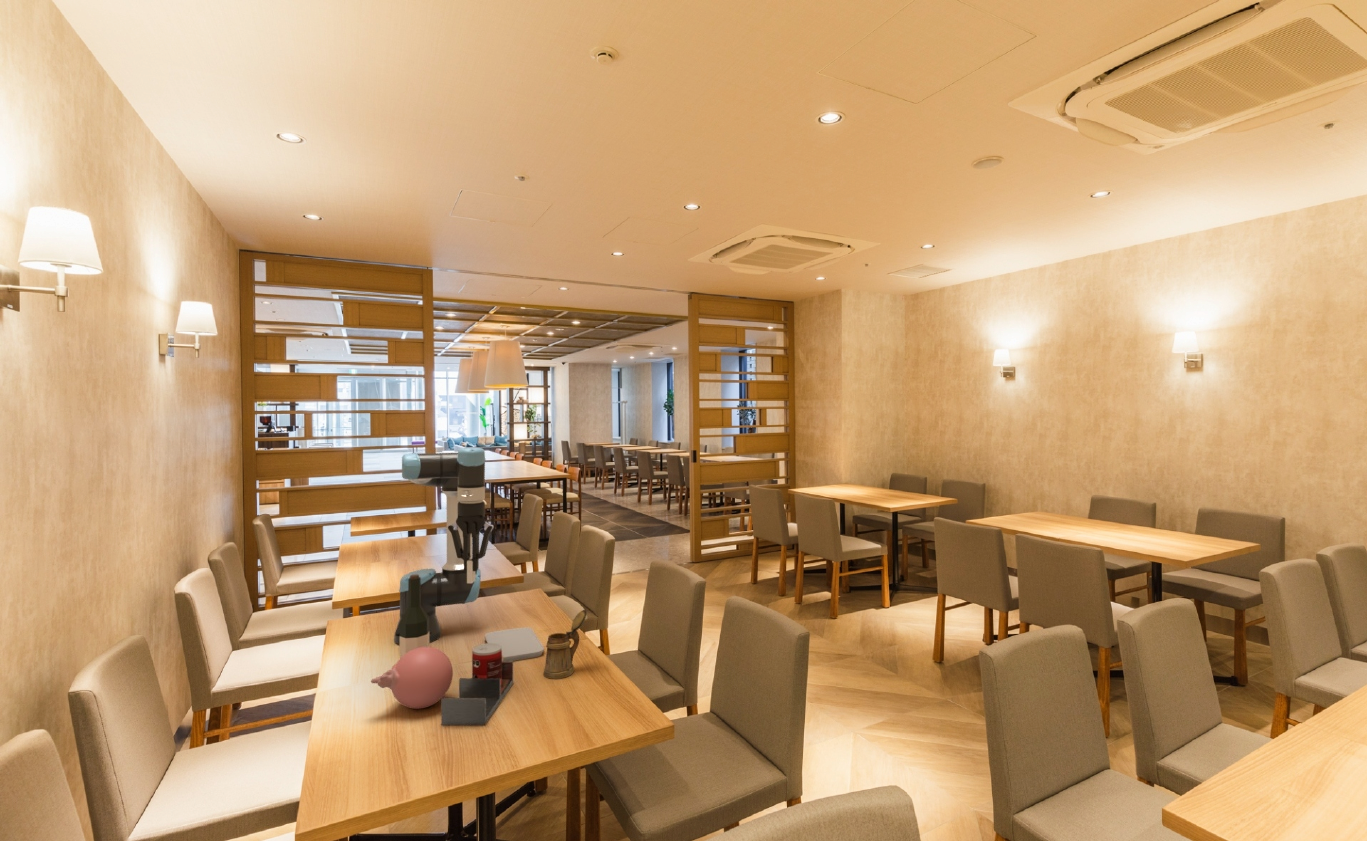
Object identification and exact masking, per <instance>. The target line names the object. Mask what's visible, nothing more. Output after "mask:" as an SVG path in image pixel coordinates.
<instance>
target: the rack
mask: <svg viewBox="0 0 1367 841" xmlns="http://www.w3.org/2000/svg"><path fill="white" fill-rule="evenodd" d="M513 685H514V661H503V655H502V683H501V678H472V677H471V678H470V677H467V678H466V677H462V678H461V677H460V678H459V680H458V688H459V689H458V693H459V694H458V697H442V698H441V699H440V700H441V702H440V703H441V705H440V707H441V708H440V712H441V714H440V715H441V719H440V720H441V721H440V722H441V723H440V725H441V726H486V725H487V723H488V722H489V720H490V719H491V717H492V715H494V713H495V711H496V710H497V708H498V707H499V705H500V704H501V702H502V701H503V699H504V698H505V697H506V695H507V694H508V692H509V690H510V689H511V688H512V686H513Z"/></svg>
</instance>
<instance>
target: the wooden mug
mask: <svg viewBox="0 0 1367 841" xmlns="http://www.w3.org/2000/svg"><path fill="white" fill-rule="evenodd" d="M587 611H588V610H587V608H586V609H582V610H580V611H579V612H577V614H576V615H575V617H574V619H573V621H572V623H571V629H570V630H568V631H566V632H565V633H563V632H557V633H556V632H555V633H552V634H549V635H548V637H547V641H546V644H545V647H546V655H545V664H544V668H543V672H542V674H543V676H544V677H545V678H548V679H551V680H553V679H554V680H558V679H559V680H560V679H564V678H567V677H569V676H571V675H573V674H574V671H575V667H574V663H573V659H574V655H575V653H576V652H577V649H578V647H579V644H580V634H579V632H578V630H579V629H580V628H581V627H582V626H583V624H584V622H585V621H586V618H587V614H588V613H587ZM571 640H573V643H572V641H571ZM571 643H572V646H571Z"/></svg>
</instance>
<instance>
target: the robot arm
mask: <svg viewBox="0 0 1367 841" xmlns="http://www.w3.org/2000/svg"><path fill="white" fill-rule="evenodd" d="M485 453H486V452H485V449H484V448H482V447H462V448H459V449H458V451H457V452H441V453H440V452H438V453H435V452H434V453H433V452H432V453H430V452H429V453H427V452H426V453H416V452H414V453H405V454H403V455H402V457H401V476H402V477H401V478H402V479H404V480H408V481H409V482H411V483H413V484H416V485H417V486H418V485H419V486H425V487H441V492H442V493H443V494H444V495H445V496H446V562H445V564H443V565H442V566H441V568H442V569H441V571H442V572H437V571H436V569H434V568H423V569H417V570H413V571H410V572H408V573H406V574H404V575H403V576H402V577H401V578H400V580H399V590H398V591H399V620H398V622H397V626H396V628H395V631H394V636H393V638H394V639H393V640H394V643H395V644H396V645H398V646H400V621H401V619H402V617H403V615H404V614H405V612H406V610H407V609H408V579H409V578H410V576H411V575H415V574H417V575H419V577H421V606H422V608H423V609H424V610H425V612H426V613H427V615H428V616H429V643H432V642H434V641H436V640H439V639H440V638H441V636H442V629H441V628H442V627H441V625H440V623H439V620H438V617H437V613H436V612H437V610H436V607H442V606H443V607H444V606H455V605H460V604H461V605H464V604H467V603H473V602H475V601H476V600H477V599H478V598H479V594H480V587H481V581H482V580H481V575H482V574H481V573H482V572H481V569H480V568H479V564H480V563H479V561H480V559H483V558H484V557H485V556H486V553H487V551H488V550H487V549H488V545H489V541H490V536H491V533H492V531H493V530H494V528H495V525H494V524H490V523H489V522H487V518H486V503H485V501H484V500H485V498H486V488H485V487H486V484H485V480H486V479H485V472H486V470H485V469H486V467H485V466H486V454H485ZM482 529H484V533H483V535H482V540H481V543H480V535H481V534H480V531H481V530H482Z"/></svg>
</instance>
